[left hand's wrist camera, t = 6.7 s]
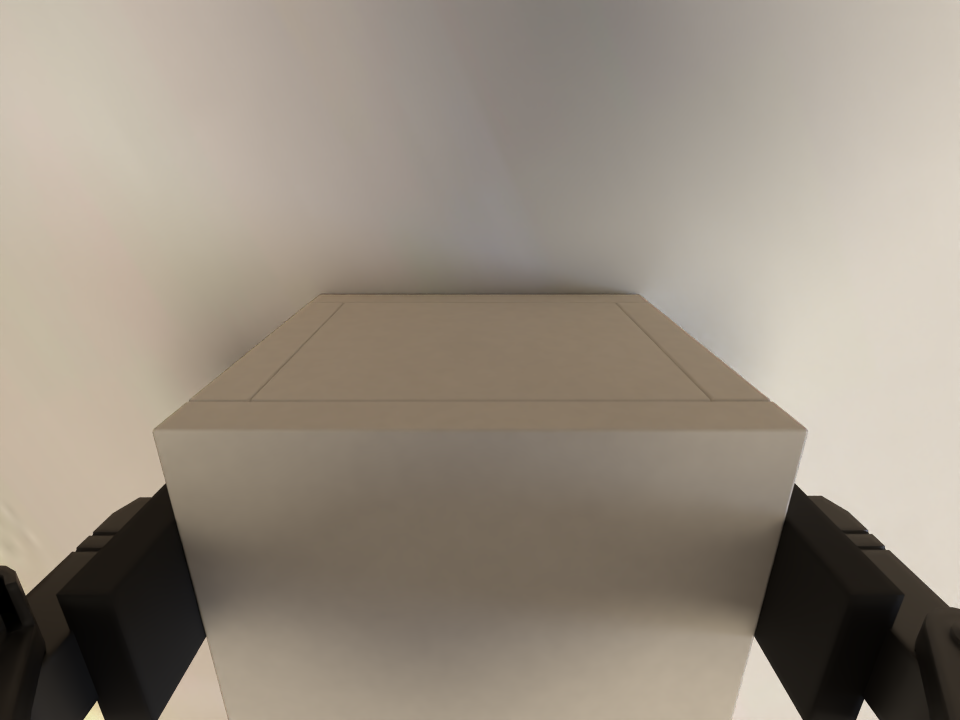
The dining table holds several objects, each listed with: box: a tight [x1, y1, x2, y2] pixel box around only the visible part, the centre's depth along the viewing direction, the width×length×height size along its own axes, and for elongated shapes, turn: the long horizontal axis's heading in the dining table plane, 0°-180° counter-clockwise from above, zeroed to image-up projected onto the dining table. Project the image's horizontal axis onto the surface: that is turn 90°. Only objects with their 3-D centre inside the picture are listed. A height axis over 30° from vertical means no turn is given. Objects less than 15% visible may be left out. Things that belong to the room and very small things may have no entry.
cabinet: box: [153, 294, 808, 720], centre depth 15 cm, size 18×10×9 cm, turn 0°
